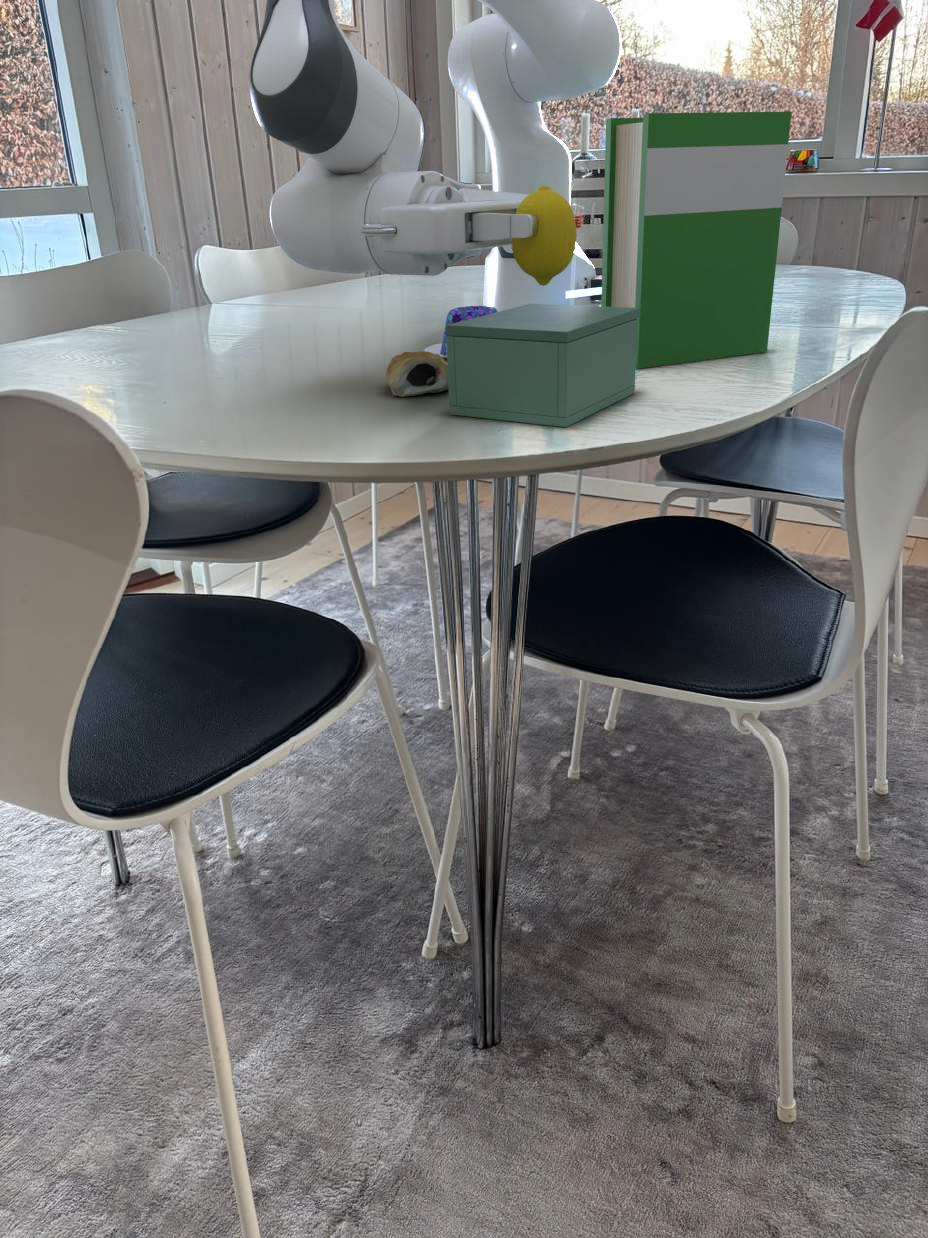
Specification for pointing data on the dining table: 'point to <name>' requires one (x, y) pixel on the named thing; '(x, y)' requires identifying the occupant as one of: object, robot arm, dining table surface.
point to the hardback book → (694, 230)
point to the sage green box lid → (544, 322)
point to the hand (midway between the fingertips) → (553, 223)
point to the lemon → (546, 236)
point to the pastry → (417, 373)
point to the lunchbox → (541, 376)
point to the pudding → (458, 316)
